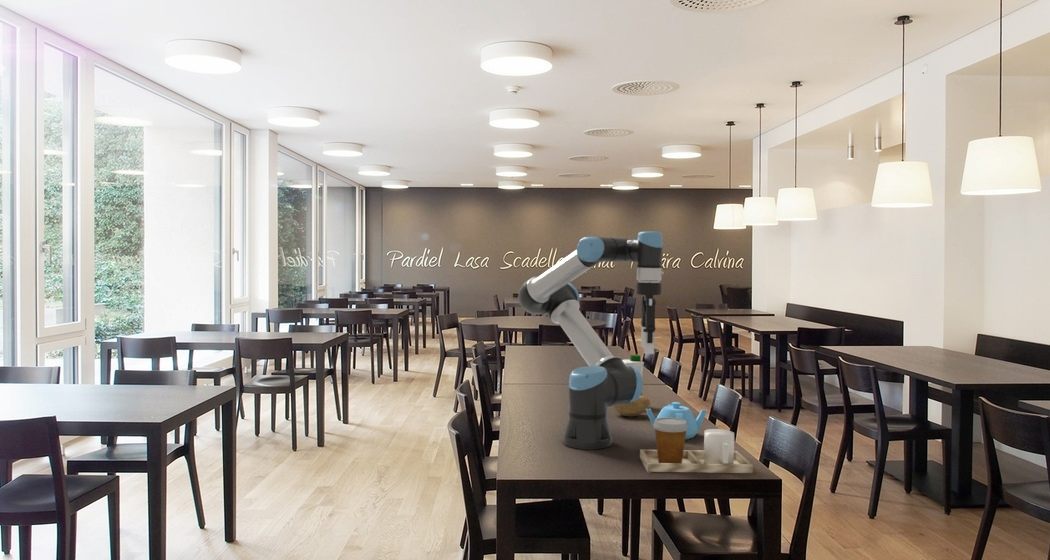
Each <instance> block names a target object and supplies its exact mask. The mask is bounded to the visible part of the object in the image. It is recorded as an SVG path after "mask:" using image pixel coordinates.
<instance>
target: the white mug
mask: <svg viewBox="0 0 1050 560" xmlns="http://www.w3.org/2000/svg"><path fill="white" fill-rule="evenodd" d="M703 433H704V434H703V435H704V436H703V450H704V464H734V451H735V432H733V431H731V430H728V429H721V428H707V429H705V430H704V431H703Z"/></svg>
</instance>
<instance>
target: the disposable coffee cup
mask: <svg viewBox="0 0 1050 560" xmlns="http://www.w3.org/2000/svg"><path fill="white" fill-rule="evenodd" d="M656 418H657V417H656ZM653 426H654V428H653V429H654V434H655V442H656V450H657V452H658V461H659V463H682V458H683V451H684V450H685V441H686V439H685V436H686V430H687V428H688V425H687V422H686V421H685V420H683V419H679V418H670V417H665V418H657V419H655V422H654V424H653ZM653 426H652V427H653Z"/></svg>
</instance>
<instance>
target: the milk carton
mask: <svg viewBox="0 0 1050 560" xmlns="http://www.w3.org/2000/svg"><path fill="white" fill-rule="evenodd" d="M621 360H622V361H623V362H624V364H625V365H626V366H627V367H628V366H631V367H635V368H636V369H637V370H638V371H639V372H640V374H641V376H642V377H643V370H644V364H645V362H644V361H642V359H641V355H639V354H630V357H629V359H621ZM641 396H643V392H642V393H641Z"/></svg>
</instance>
